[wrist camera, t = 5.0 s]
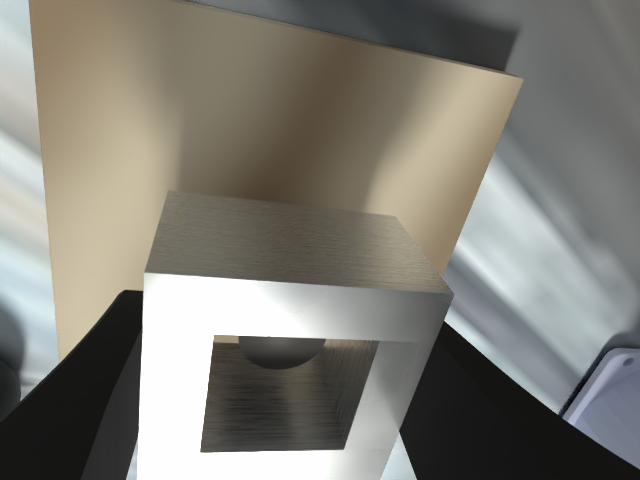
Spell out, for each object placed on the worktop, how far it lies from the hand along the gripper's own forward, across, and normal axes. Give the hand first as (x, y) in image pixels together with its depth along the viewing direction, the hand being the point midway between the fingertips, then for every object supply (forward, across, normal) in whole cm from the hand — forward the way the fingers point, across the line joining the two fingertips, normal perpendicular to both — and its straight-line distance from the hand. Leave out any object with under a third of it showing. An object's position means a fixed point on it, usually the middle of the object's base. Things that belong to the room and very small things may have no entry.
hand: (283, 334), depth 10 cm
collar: (+2, 0, 0) cm, 2 cm away
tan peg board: (+5, 0, 0) cm, 5 cm away
